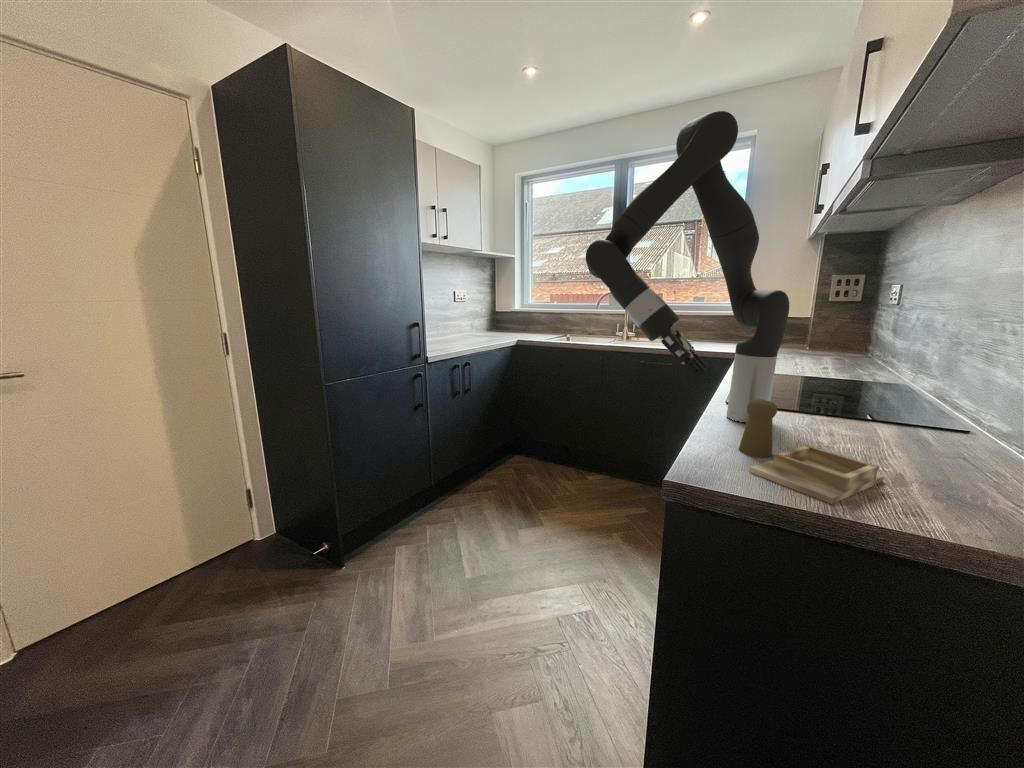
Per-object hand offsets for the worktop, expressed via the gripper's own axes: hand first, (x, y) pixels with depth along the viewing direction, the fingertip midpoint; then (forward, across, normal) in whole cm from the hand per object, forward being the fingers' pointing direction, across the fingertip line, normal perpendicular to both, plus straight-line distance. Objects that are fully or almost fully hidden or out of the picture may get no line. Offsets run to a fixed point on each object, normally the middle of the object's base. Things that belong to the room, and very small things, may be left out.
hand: (702, 371), depth 85 cm
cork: (+20, 0, +3) cm, 20 cm away
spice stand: (+26, -8, -3) cm, 27 cm away
